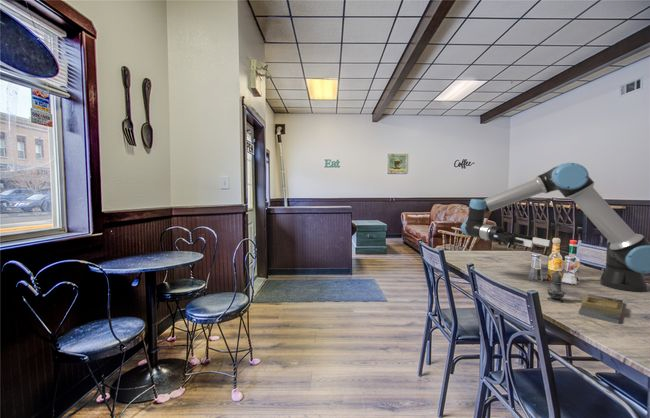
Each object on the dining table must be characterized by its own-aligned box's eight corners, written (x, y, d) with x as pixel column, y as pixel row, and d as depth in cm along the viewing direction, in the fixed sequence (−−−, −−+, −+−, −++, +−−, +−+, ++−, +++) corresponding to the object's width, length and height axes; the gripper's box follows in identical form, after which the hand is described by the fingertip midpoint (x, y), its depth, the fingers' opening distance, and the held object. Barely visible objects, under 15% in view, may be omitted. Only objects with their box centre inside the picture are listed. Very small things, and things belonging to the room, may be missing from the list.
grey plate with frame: (587, 296, 120) (587, 290, 120) (623, 303, 112) (623, 297, 112) (577, 314, 102) (578, 307, 102) (619, 323, 95) (619, 316, 95)
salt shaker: (566, 304, 112) (567, 273, 111) (547, 301, 115) (548, 271, 114) (563, 299, 117) (564, 270, 116) (545, 296, 120) (546, 268, 119)
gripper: (506, 240, 146) (554, 251, 127) (474, 241, 135) (522, 253, 116) (508, 226, 145) (557, 234, 127) (477, 225, 134) (525, 235, 115)
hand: (541, 243), depth 121 cm, fingers open, 13 cm apart
